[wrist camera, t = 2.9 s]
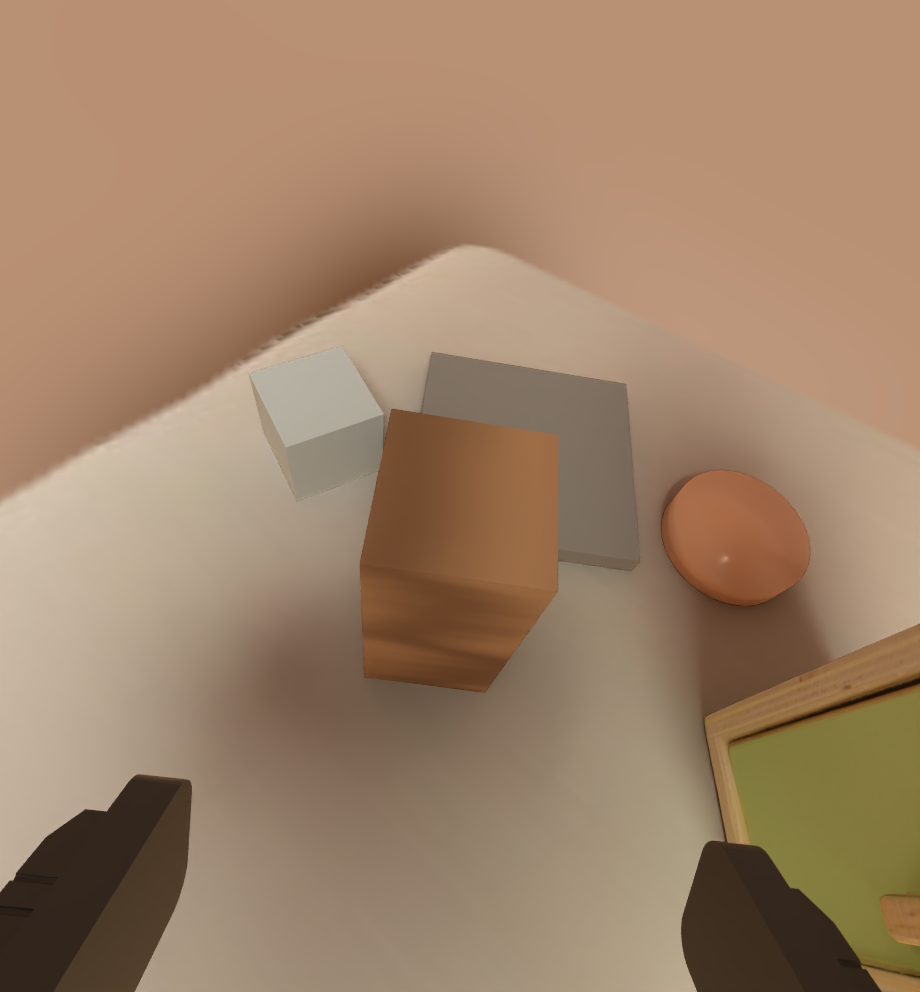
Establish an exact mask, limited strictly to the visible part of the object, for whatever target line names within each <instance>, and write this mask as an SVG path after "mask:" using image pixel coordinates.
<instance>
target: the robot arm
mask: <svg viewBox="0 0 920 992" xmlns="http://www.w3.org/2000/svg"><path fill="white" fill-rule="evenodd" d="M191 797H192V785H191V782H190V780H186V779H177V778H168V777H159V776H150V775H141V774H138V775H136V776H134V777H133V778H132V779H131V780H130V781H129V782H128V784H127V785H126V786H125V788H124V789H123V790H122V792H121V793H120V795H119V796H118V797H117V799H116V800H115V801H114V803H113V804H112V805H111V807H110V808H109V809H108V811H107V812H105V811H96V810H87V809H85V810H84V811H83V812H81V813H80V814H78V815H77V816H75V817H74V818H73V819H71V820H70V821H68V822H67V823H66V824H64V825H63V826H61V827H60V828H58V829H57V830H56V831H54V832H53V833H51V834H50V835H48V836H47V837H46V838H45V839H44V840H43V841H42V843H41V844H40V845H39V846H38V847H37V849H36V850H35V851H34V852H33V853H32V855H31V856H30V857H29V858H28V859H27V861H26V862H25V863H24V864H23V866H22V867H21V868H20V869H19V870H18V872H17V873H16V876H15V878H14V880H13V881H9V882H8V884H7V885H6V886H5V887H4V888H3V890H2V891H1V892H0V992H135V990H136V988H137V986H138V984H139V982H140V980H141V977H142V975H143V973H144V971H145V969H146V967H147V965H148V963H149V961H150V959H151V957H152V955H153V953H154V951H155V949H156V947H157V945H158V943H159V941H160V939H161V937H162V934H163V932H164V930H165V928H166V926H167V924H168V922H169V920H170V918H171V916H172V914H173V912H174V909H175V907H176V904H177V902H178V899H179V896H180V893H181V890H182V886H183V883H184V879H185V874H186V869H187V861H188V846H189V830H190V813H191ZM681 937H682V946H683V952H684V957H685V960H686V964H687V967H688V970H689V972H690V975H691V977H692V980H693V982H694V985H695V987H696V990H697V992H882V991H881V990H880V988H879V987H878V985H877V984H876V983H875V981H874V980H873V978H872V977H871V975H870V974H869V972H868V971H867V970H866V969H862V967H861V961H860V959H859V958H858V957H857V955H856V954H855V952H854V951H853V949H852V948H851V946H850V945H849V944H848V942H847V941H846V939H845V938H844V936H843V935H842V933H841V932H840V931H839V929H838V928H837V926H836V925H835V923H834V922H833V921H832V920H831V919H830V918H829V917H828V916H827V915H826V914H825V913H823V912H822V911H821V910H820V909H819V908H818V907H817V906H816V905H815V904H814V903H813V902H812V901H811V900H810V899H809V898H808V897H807V896H806V895H805V894H804V893H803V892H801V891H800V890H799V889H796V888H790V887H789V885H788V884H787V882H786V881H785V879H784V878H783V876H782V875H781V873H780V872H779V870H778V869H777V867H776V866H775V864H774V862H773V861H772V859H771V858H770V856H769V855H768V854H767V852H766V851H764V850H763V849H762V848H761V847H759V846H754V845H745V844H737V843H728V842H719V841H709V842H708V843H707V844H706V845H705V846H704V848H703V851H702V854H701V857H700V860H699V863H698V867H697V870H696V873H695V877H694V880H693V883H692V887H691V890H690V893H689V896H688V900H687V903H686V906H685V910H684V913H683V917H682V924H681Z"/></svg>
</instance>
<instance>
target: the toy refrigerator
mask: <svg viewBox="0 0 920 992" xmlns="http://www.w3.org/2000/svg"><path fill="white" fill-rule="evenodd" d="M705 730H706V735H707V741H708V746H709V751H710V757H711V762H712V766H713V771H714V777H715V782H716V786H717V791H718V796H719V802H720V807H721V812H722V817H723V822H724V827H725V832H726V837H727V842H728V843H737V844H745V845H754V846H759V847H761V848H762V849H763V850H764V851H766V852H767V854H768V855H769V856H770V858H771V859H772V861H773V862H774V864H775V866H776V867H777V869H778V870H779V872H780V873H781V875H782V876H783V878H784V879H785V881H786V882H787V884H788V885H789V887H790V888H796V889H799V890H800V891H801V892H803V893H804V894H805V895H806V896H807V897H808V898H809V899H810V900H811V901H812V902H813V903H814V904H815V905H816V906H817V907H818V908H819V909H820V910H821V911H822V912H823V913H825V914H826V915H827V916H828V917H829V918H830V919H831V920H832V921H833V922H834V923H835V925H836V926H837V928H838V929H839V931H840V932H841V933H842V935H843V936H844V938H845V939H846V941H847V942H848V944H849V945H850V946H851V948H852V949H853V951H854V952H855V954H856V955H857V957H858V958H859V959H860V961H861V967H862V969H866V970H867V971H868V972H869V974H870V975H871V977H872V978H873V980H874V981H875V983H876V984H877V985H878V987H879V988H880V990H881V991H882V992H920V624H918V625H916V626H913V627H911V628H908V629H906V630H904V631H901V632H899V633H897V634H894V635H892V636H890V637H887V638H885V639H883V640H880V641H878V642H876V643H873V644H871V645H869V646H866V647H864V648H862V649H859V650H857V651H855V652H852V653H850V654H848V655H846V656H843V657H841V658H839V659H836V660H834V661H832V662H829V663H827V664H825V665H822V666H820V667H818V668H816V669H813V670H811V671H809V672H806V673H804V674H801V675H799V676H796V677H794V678H792V679H790V680H787V681H785V682H783V683H781V684H778V685H776V686H774V687H772V688H769V689H767V690H765V691H762V692H760V693H758V694H755V695H753V696H751V697H749V698H746V699H744V700H741V701H739V702H737V703H734V704H732V705H730V706H728V707H725V708H723V709H721V710H718V711H716V712H714V713H712V714H710V715H708V716H706V717H705Z"/></svg>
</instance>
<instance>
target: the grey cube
mask: <svg viewBox="0 0 920 992" xmlns="http://www.w3.org/2000/svg"><path fill="white" fill-rule="evenodd" d="M249 377H250V381H251V385H252V388H253V392H254V396H255V400H256V404H257V408H258V412H259V415H260V419H261V423H262V427H263V431H264V434H265V436H266V438H267V440H268V442H269V444H270V446H271V449H272V451H273V453H274V455H275V457H276V459H277V461H278V463H279V465H280V467H281V469H282V471H283V473H284V475H285V478H286V480H287V482H288V484H289V486H290V488H291V490H292V492H293V494H294V496H295V498H296V500H297V502H298V501H300V500H303V499H305V498H308V497H311V496H313V495H316V494H319V493H321V492H324V491H327V490H329V489H332V488H334V487H337V486H340V485H342V484H345V483H348V482H350V481H353V480H356V479H358V478H361V477H363V476H366V475H369V474H371V473H374V472H377V471H379V468H380V463H381V458H382V453H383V428H384V413H383V412H382V410H381V408H380V407H379V405H378V403H377V402H376V400H375V398H374V397H373V395H372V394H371V392H370V390H369V389H368V387H367V385H366V384H365V382H364V380H363V379H362V377H361V375H360V374H359V372H358V370H357V369H356V367H355V366H354V364H353V362H352V361H351V359H350V357H349V356H348V354H347V352H346V351H345V349H344V347H343V346H340V347H337V348H333V349H330V350H326V351H323V352H320V353H316V354H313V355H309V356H306V357H302V358H299V359H295V360H292V361H288V362H285V363H282V364H278V365H275V366H271V367H268V368H264V369H261V370H257V371H254V372H250V373H249Z"/></svg>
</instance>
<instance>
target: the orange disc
mask: <svg viewBox="0 0 920 992" xmlns="http://www.w3.org/2000/svg"><path fill="white" fill-rule="evenodd" d="M661 532H662V539H663V543H664V547H665V549H666V552H667V554H668V556H669V558H670V560H671V562H672V563H673V565H674V566H675V567H676V569H677V570H678V571H679V573H680V574H681V575H682V576H683V577H684V578H685V579H686V580H687V581H688V582H689V583H690V584H691V585H693V586H694V587H695V588H696V589H698V590H699V591H701V592H702V593H704V594H706V595H708V596H710V597H712V598H714V599H716V600H719V601H721V602H724V603H728V604H732V605H740V606H750V605H757V604H760V603H763V602H766V601H768V600H770V599H772V598H773V597H775V596H776V595H778V594H780V593H781V592H783V591H784V590H786V589H788V588H789V587H791V586H792V585H794V584H795V583H796V582H798V581H799V580H800V578H801V577H802V576H803V575H804V573H805V571H806V570H807V567H808V564H809V560H810V543H809V538H808V534H807V531H806V529H805V526H804V524H803V522H802V520H801V519H800V517H799V515H798V514H797V512H796V511H795V509H794V508H793V507H792V506H791V505H790V503H789V502H788V501H787V500H786V499H785V498H784V497H783V496H782V495H780V494H779V493H778V492H777V491H776V490H774V489H773V488H771V487H770V486H769V485H767V484H765V483H764V482H762V481H760V480H758V479H756V478H754V477H752V476H749V475H746V474H743V473H739V472H735V471H728V470H716V471H709V472H705V473H702V474H699V475H697V476H696V477H694V478H692V479H691V480H690V481H689V482H687V483H686V485H685V486H684V487H683V488H682V489H681V490H680V492H679V493H678V494H677V495H676V496H675V497H674V499H673V500H672V501H671V502H670V503H669V505H668V506H667V508H666V510H665V512H664V515H663V519H662V528H661Z"/></svg>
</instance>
